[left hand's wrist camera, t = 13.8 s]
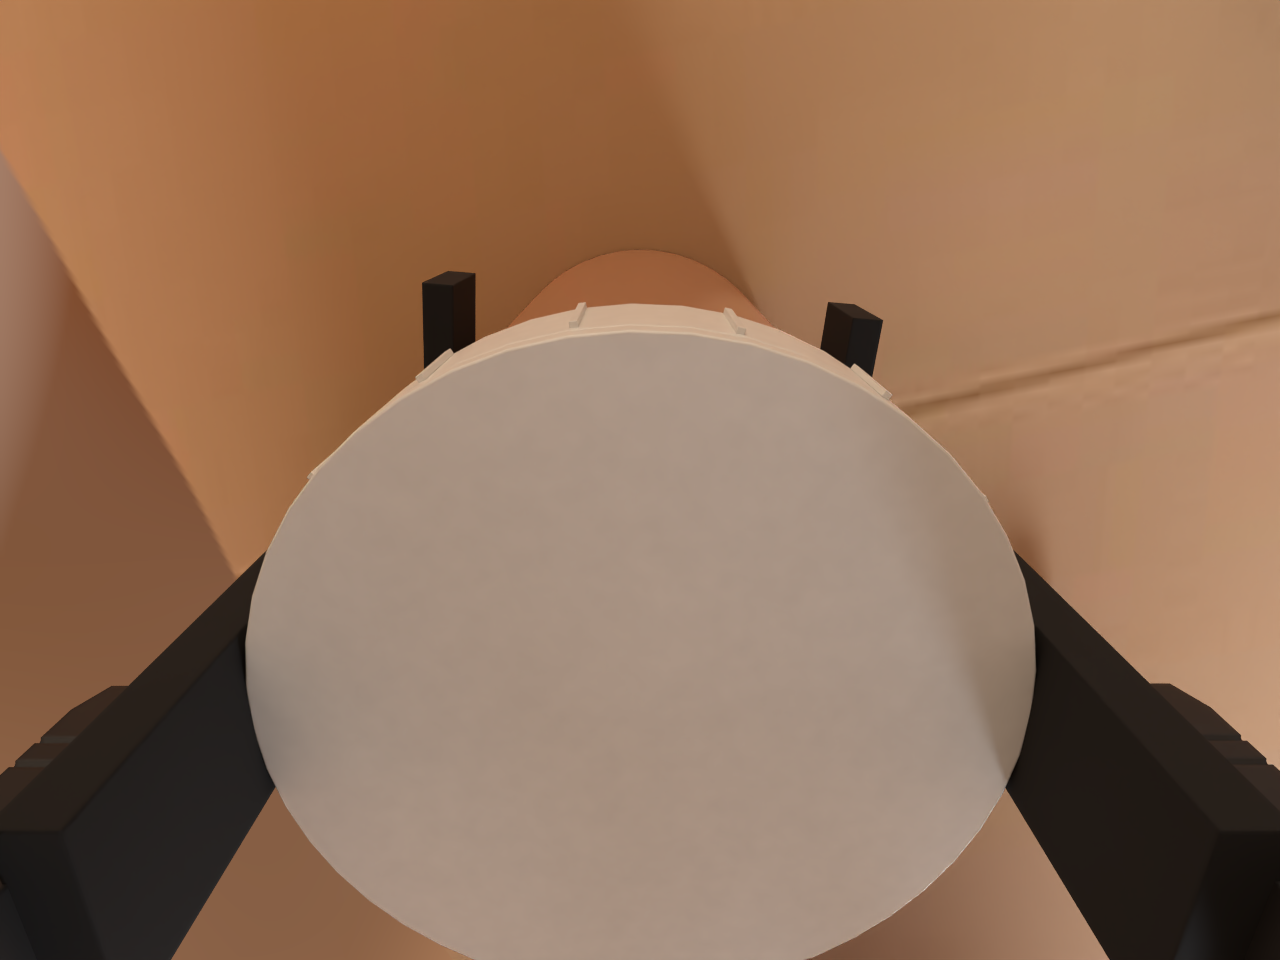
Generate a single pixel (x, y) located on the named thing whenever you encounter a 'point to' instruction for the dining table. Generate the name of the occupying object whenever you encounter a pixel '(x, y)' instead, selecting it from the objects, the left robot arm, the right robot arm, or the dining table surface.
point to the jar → (640, 286)
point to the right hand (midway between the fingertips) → (653, 294)
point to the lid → (640, 646)
